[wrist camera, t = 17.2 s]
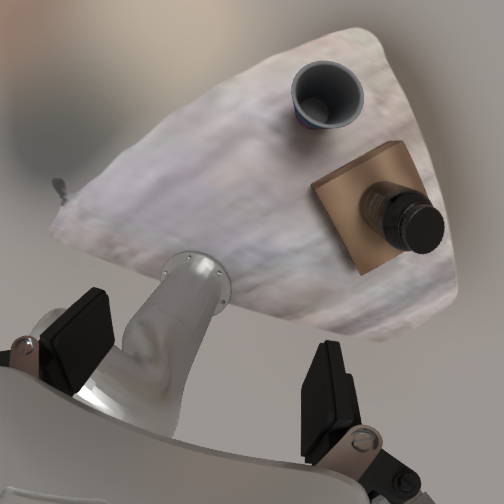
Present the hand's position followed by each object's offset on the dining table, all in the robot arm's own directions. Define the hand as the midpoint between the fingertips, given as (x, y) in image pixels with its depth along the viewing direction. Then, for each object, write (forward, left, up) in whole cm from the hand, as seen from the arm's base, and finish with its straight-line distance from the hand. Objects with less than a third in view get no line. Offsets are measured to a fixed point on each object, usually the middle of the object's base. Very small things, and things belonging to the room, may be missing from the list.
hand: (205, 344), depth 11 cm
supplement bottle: (+14, -8, -27) cm, 31 cm away
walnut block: (+14, -9, -33) cm, 37 cm away
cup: (+13, +7, -32) cm, 36 cm away
